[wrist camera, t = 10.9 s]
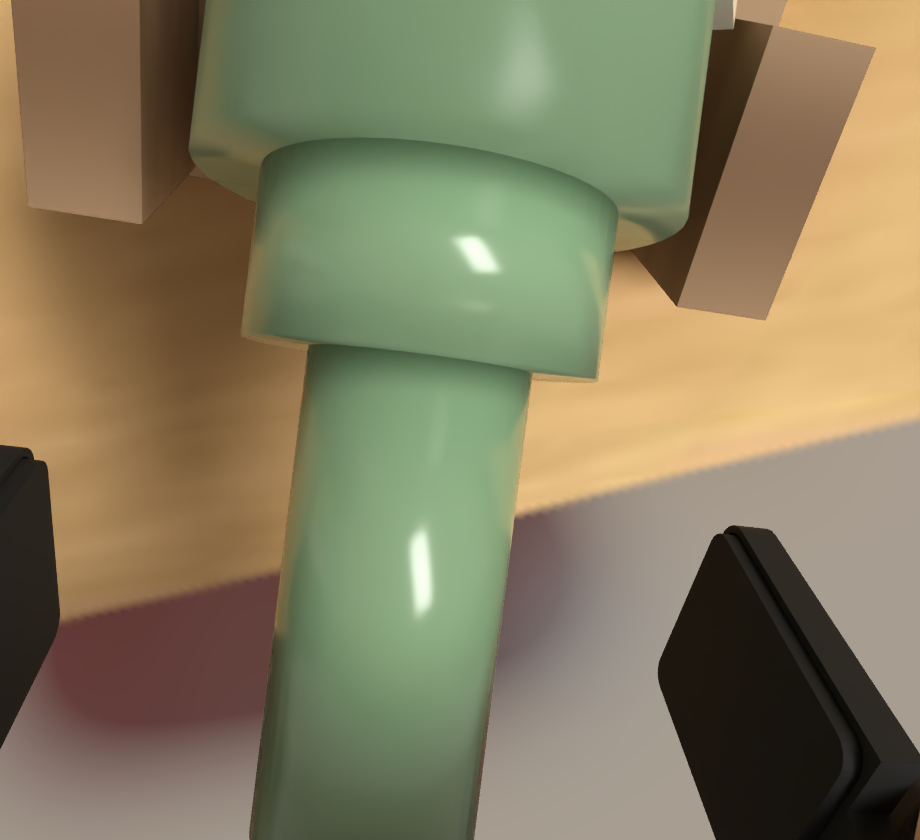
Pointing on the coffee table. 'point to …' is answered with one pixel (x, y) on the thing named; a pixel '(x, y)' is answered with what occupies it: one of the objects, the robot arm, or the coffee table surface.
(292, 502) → the green bottle
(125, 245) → the coffee table surface
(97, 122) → the cradle
